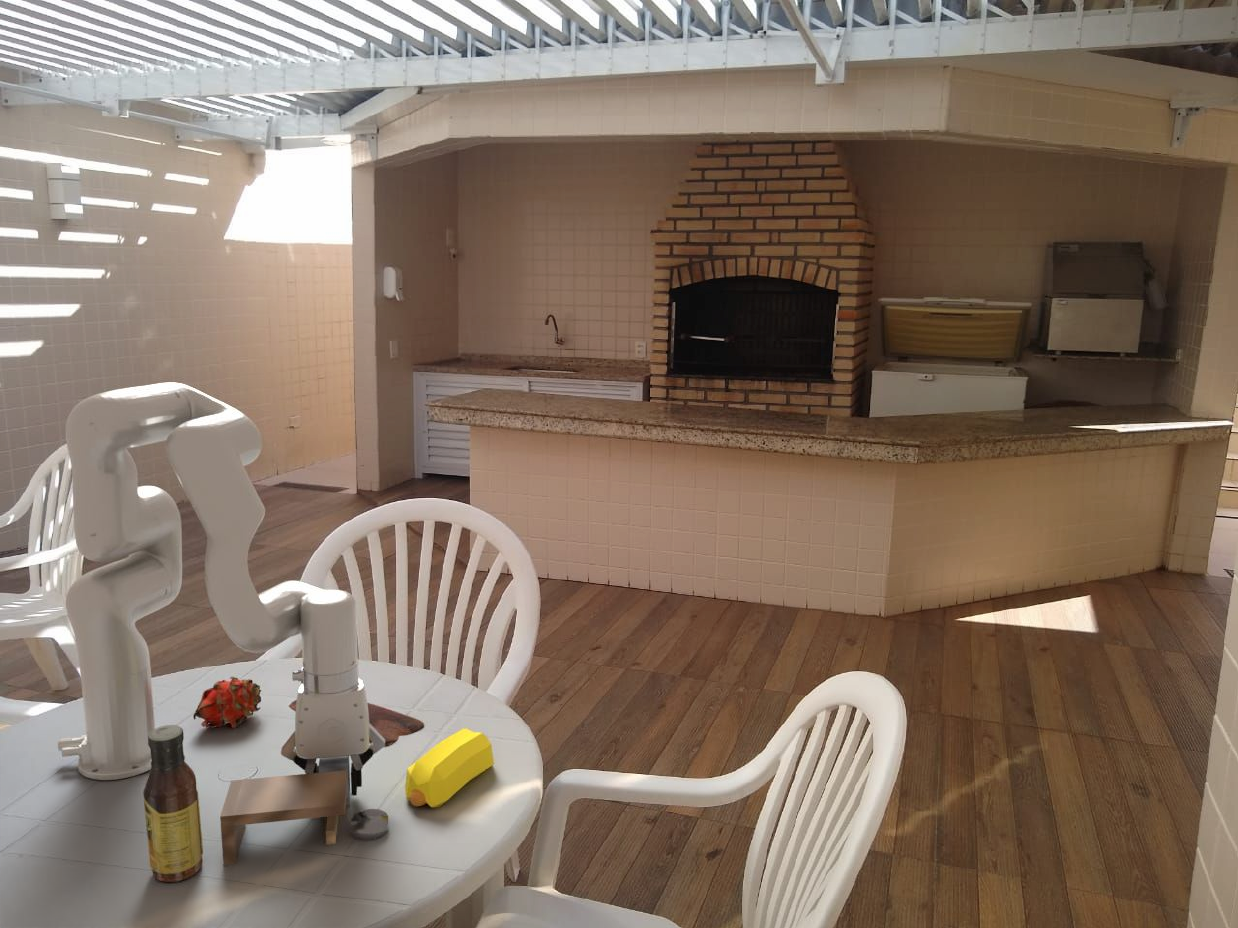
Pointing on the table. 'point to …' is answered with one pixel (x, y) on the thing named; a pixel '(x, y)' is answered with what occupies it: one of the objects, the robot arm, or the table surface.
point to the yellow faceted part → (448, 768)
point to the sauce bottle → (172, 808)
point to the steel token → (369, 824)
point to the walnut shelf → (279, 803)
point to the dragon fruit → (228, 702)
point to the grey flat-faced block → (332, 821)
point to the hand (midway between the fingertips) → (335, 791)
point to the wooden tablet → (388, 722)
